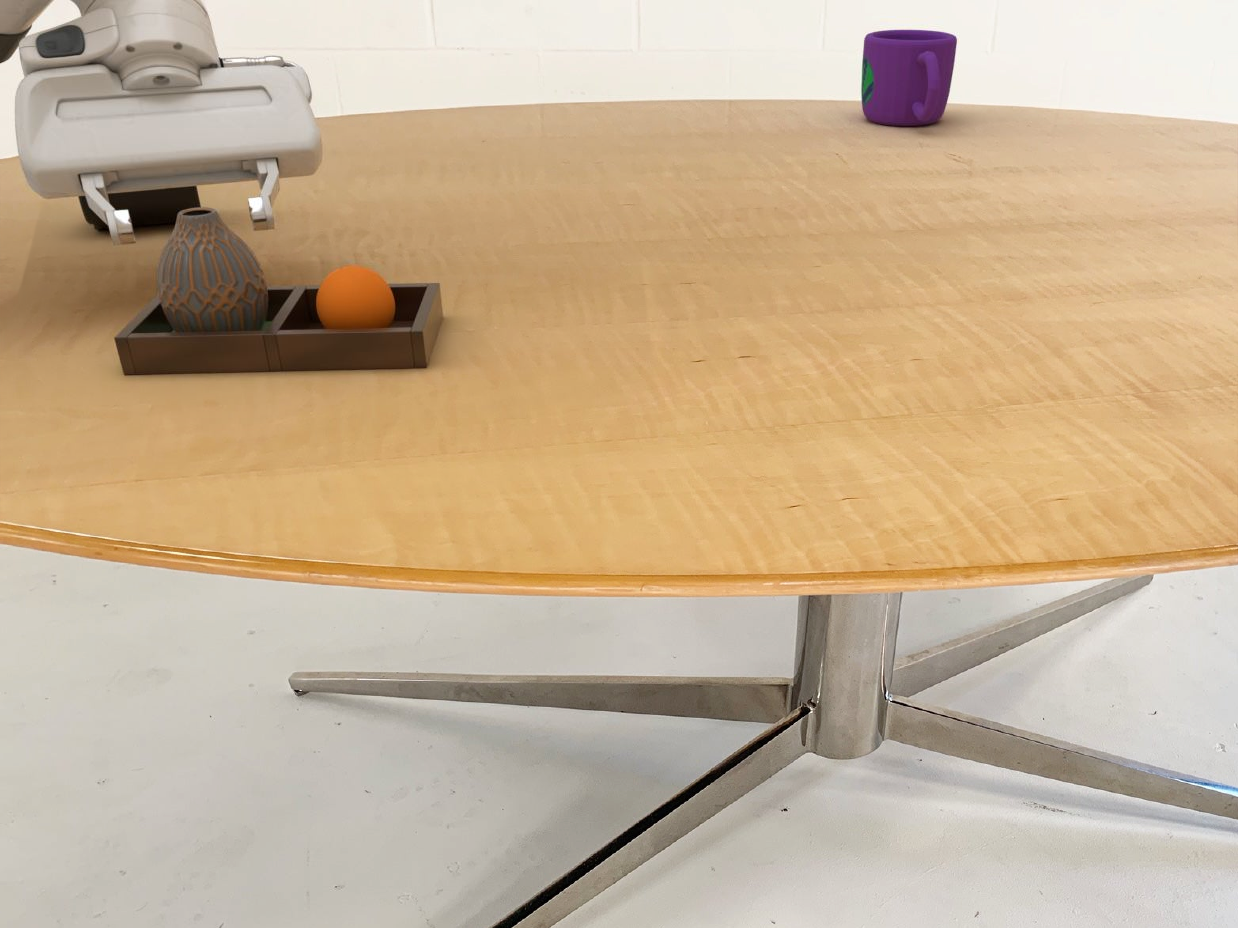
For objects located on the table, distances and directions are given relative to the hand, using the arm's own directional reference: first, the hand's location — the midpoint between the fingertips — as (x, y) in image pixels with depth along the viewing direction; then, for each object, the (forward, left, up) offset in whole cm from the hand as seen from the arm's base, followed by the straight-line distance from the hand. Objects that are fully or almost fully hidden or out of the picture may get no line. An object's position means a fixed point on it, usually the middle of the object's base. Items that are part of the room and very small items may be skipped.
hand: (195, 233), depth 82 cm
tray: (+7, -6, -7) cm, 12 cm away
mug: (+68, +71, -7) cm, 98 cm away
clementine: (+12, -6, -6) cm, 15 cm away
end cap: (-14, +29, -7) cm, 32 cm away
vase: (+2, -6, -6) cm, 9 cm away
